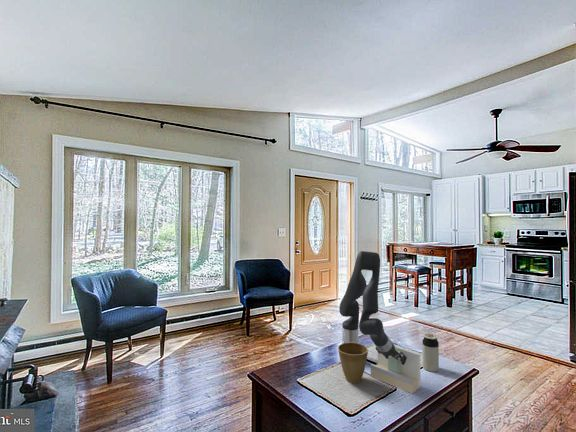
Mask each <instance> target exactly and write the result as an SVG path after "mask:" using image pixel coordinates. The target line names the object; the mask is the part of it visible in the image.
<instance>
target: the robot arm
mask: <svg viewBox="0 0 576 432" xmlns="http://www.w3.org/2000/svg"><path fill="white" fill-rule="evenodd" d="M380 269H381V257H380V254H379V253H378V252H375V251H365V250H364V251H363V250H362V251H361V250H360V251H359V252H358V254H357V255H356V259H355V263H354V266H353V271H352V272H351V273H352V274H351V277H350V278H349V281H348V284H347V287H346V289H345V290H346V291H345V294H344V295H343V297H342V299H341V301H340V302H339V313H340V315H341V317H347V319H346V320H344V321H342V325H341V326H342V331H341V332H342V333H341V335H342V338H341V340H342V341H341V344H343V343H359V332H360V333H361V334H362V335H365V336H367V335H368V336H369V337H370V340H371V341H372V342H373V343H374V346H375V350H376V351H377V354H378V353H379V354H382V355H383V356H385V358H386V359H388V356H390V357H393V358H394V359H396V360H399V361H400V362H401V363H402V365H404V364H405V362H406V359H407V357H406V356H405V355H404V354H403V352H400V353H399V352H397V351H396V350H395V346H396V345H395V344H394V342H393V341H392V340H391V339H390V337H389V336H388V335H387V333H386V332H385V329H384V324H383V321H382V320H381V319H380V318H375V317H374V318H371V316H372V315H374V314H377V313H378V312H379V294H378V293H379V283H380V282H379V281H380V271H381V270H380ZM363 270H364V271H371V272H372V274H371V278H370V280H369V282H368V284H367V281H366V278H365V276H364V275H363V272H362V271H363ZM359 298H362V311H361V314H360V305H359V302H358V300H359ZM360 315H361V316H360ZM348 317H349V318H348ZM394 345H395V346H394ZM395 356H397V357H395ZM399 358H400V359H399Z"/></svg>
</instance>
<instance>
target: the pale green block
mask: <svg viewBox="0 0 576 432" xmlns="http://www.w3.org/2000/svg"><path fill="white" fill-rule="evenodd" d="M396 351H397V352H399V353H400V352H401V351H398V350H396ZM395 357H397V356H395ZM399 359H400V358H399ZM388 370H389V371H391V372H394V373H397V374H401V362H400V361H399V360H396V359H394V358H393V357H390V356H388Z"/></svg>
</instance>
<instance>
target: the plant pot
mask: <svg viewBox="0 0 576 432" xmlns="http://www.w3.org/2000/svg"><path fill="white" fill-rule="evenodd" d="M337 351H338V358H339V361H340V366H341V368H342V372H343V374H344V377H345V380H346V381H347V382H349V383H351V384H358V383H360V382H361V381H362V378H363V375H364V372H365V369H366V364H367V360H368V359H367V358H368V352H369V348H368V347H367V346H366V345H365V344H361V343H359V342H358V343H343V344H342V343H341V344H339V345H338V347H337Z"/></svg>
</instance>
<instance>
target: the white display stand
mask: <svg viewBox="0 0 576 432" xmlns="http://www.w3.org/2000/svg"><path fill="white" fill-rule="evenodd" d="M394 346H395V350H398V351H401V352H403V354H404V355H405V356H406V357H407V359H406V362H405V364H404V365H402V363H401V374H397V373H394V372H391V371H389V370H388V359H386V358H385V356H383V355H382V354H379V353H378V352H377V364H373V363H370V377H372V378H374V379H376V380H379V381H381V382H384V383H386V384H388V385H391V386H393V387H395V388H397V389H399V390H403V391H405V392H407V393H410V394H414V393H415V392H416V391H417V390H418V389H419V388H420V387H421V353H420V352H416V351H413V350H410V349H407V348H404V347H401V346H398V345H395V344H394Z"/></svg>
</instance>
